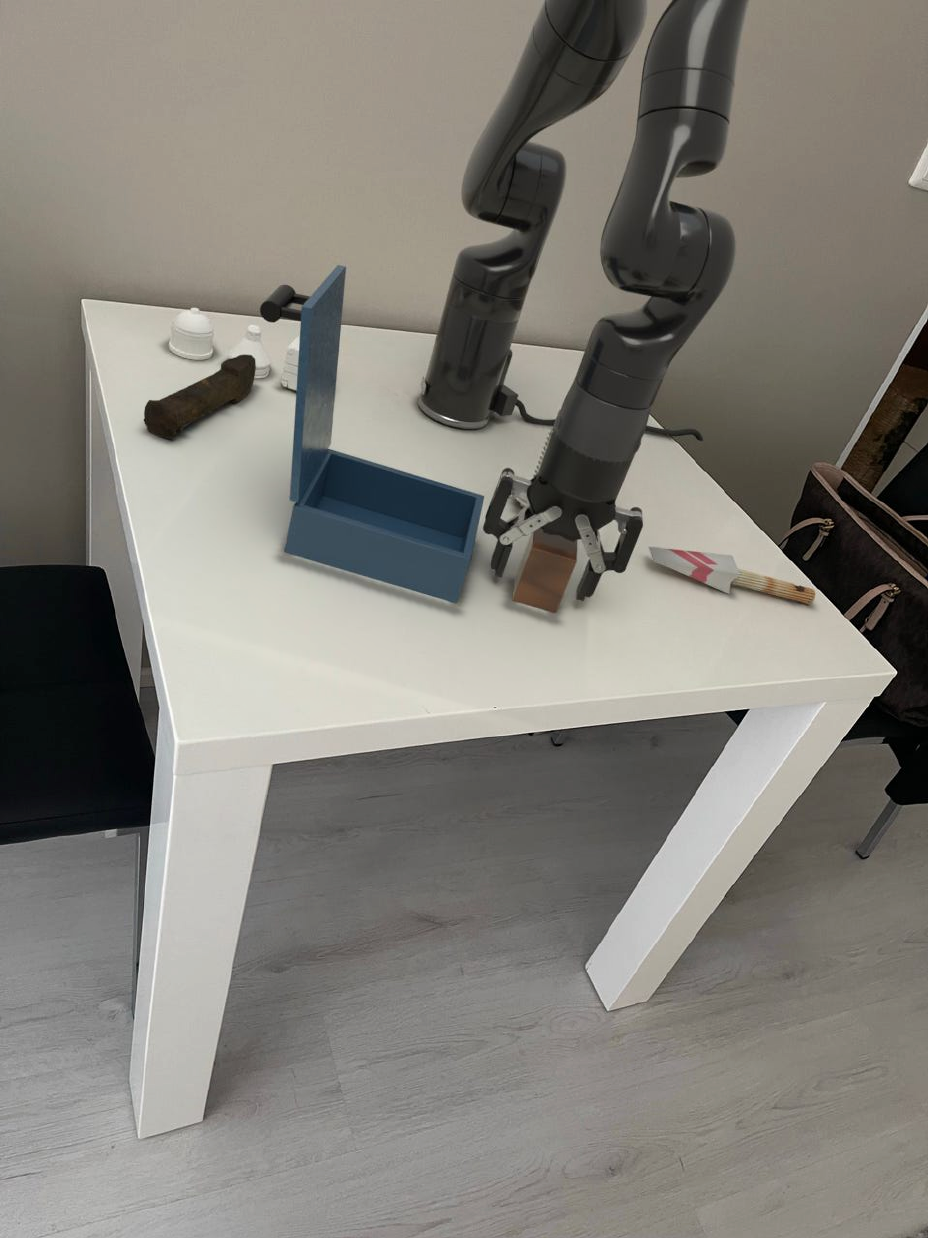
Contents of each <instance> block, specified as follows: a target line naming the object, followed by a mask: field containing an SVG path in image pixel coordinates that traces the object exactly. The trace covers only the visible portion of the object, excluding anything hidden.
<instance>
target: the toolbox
mask: <svg viewBox="0 0 928 1238" xmlns="http://www.w3.org/2000/svg"><path fill="white" fill-rule="evenodd" d="M484 501H485V495H482V494H480V493H476V492H472V491H470V490H466V489H463V488H459V487H456V486H453V485H449V484H447V483H443V482H440V481H436V480H433V479H430V478H426V477H423V476H420V475H417V474H413V473H410V472H407V471H403V470H400V469H397V468H394V467H390V466H387V465H384V464H382V463H381V464H380V463H377V462H374V461H371V460H367V459H364V458H360V457H358V456H354V455H351V454H347V453H344V452H341V451H339V450H334V449H331V448H328V450H327V452H326V453H325V455H324V457H323V459H322V461H321V462H320V464H319V466H318V468H317V470H316V471H315V473H314V475H313V477H312V479H311V480H310V482H309V484H308V486H307V487H306V489H305V491H304V493H303V495H302V496H301V498H300V500H299V502H294V504H293V506H292V510H291V515H290V521H289V525H288V531H287V535H286V540H285V547H284V553H285V554H288V555H292V556H295V557H298V558H303V559H306V560H309V561H312V562H316V563H319V564H322V565H326V566H329V567H332V568H335V569H338V570H342V571H346V572H349V573H353V574H355V575H359V576H362V577H366V578H369V579H373V580H376V581H379V582H382V583H386V584H389V585H392V586H396V587H399V588H403V589H406V590H409V591H412V592H416V593H420V594H423V595H426V596H430V597H433V598H436V599H440V600H443V601H447V602H449V603H453V604H457V602H458V600H459V597H460V594H461V590H462V588H463V585H464V582H465V578H466V576H467V572H468V570H469V566H470V563H471V561H472V556H473V551H474V548H475V547H474V546H475V542H476V539H477V534H478V529H479V524H480V519H481V516H482V515H481V514H482V511H483V505H484Z"/></svg>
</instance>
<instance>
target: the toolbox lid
mask: <svg viewBox="0 0 928 1238" xmlns="http://www.w3.org/2000/svg"><path fill="white" fill-rule="evenodd" d="M346 274H347V266H345V265H340V264H337V265H336V266H335V267H334V269H333V270H332V271H331V272H330V273H329V274H328V275H327V277H326V278H325V279H324V280H323V281H322V282H321V284H320V285H319V286H318V287H317V288H316V289H315V291H314V292H313V293H312V294H311V295H305V294H300V293H296V291H295V289H294V288H293V287H292V286H291V285H289V284H281V285H279V286H278V287H277V288H276V289H275V290H274V291H273V292H272V293H271V294H270V295H269V296H268V297H267V298H266V299H264V301H263V302H262V303H261V304H260V307H259V313H260V316H261V317H262V319H263V320H265V322H268V323H276V322H278V321H279V320H280V319H282V318H283V319H287V320H292V321H297V322H300V327H299V328H300V329H299V335H300V342H299V358H298V374H297V390H295V391H296V392H295V407H294V423H293V424H294V425H293V442H292V457H291V471H290V472H291V473H290V489H289V501H291V502H293V503H295V502H299V500H300V498H301V496H302V495H303V493H304V491H305V489H306V487H307V486H308V484H309V482H310V480H311V479H312V477H313V475H314V473H315V471H316V470H317V468H318V466H319V464H320V462H321V461H322V459H323V457H324V455H325V453H326V452H327V450H328V449H330V447H331V444H332V437H333V436H332V434H333V425H334V411H335V402H336V401H335V400H336V389H337V376H338V366H339V356H340V355H339V354H340V343H341V330H342V320H343V319H342V318H343V308H344V298H345V297H344V296H345V287H346V286H345V285H346ZM293 304H296V305H300V306H301V310H300V309H295V308H291V307H292V306H293Z"/></svg>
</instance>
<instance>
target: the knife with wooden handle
mask: <svg viewBox="0 0 928 1238" xmlns="http://www.w3.org/2000/svg"><path fill="white" fill-rule="evenodd" d="M648 550H649V553H650V556H651V559H652V561H653V562H655V563H658V564H659V565H663V566H664V567H667V568H669V569H671V570H674V571H676V572H679V573H681V574H683V575H686V576H687V577H690V578H692V579H694V580H696V581H698V582H701V583H703V584H705V585H708V586H710V587H712V588H714V589H716V590H718V591H721V592H723V593H725V594H728V595H730V593H731V592H730V591H731V584H732V585H735V586H739V587H743V588H747V589H750V590H754V591H757V592H762V593H764V594H768V595H773V596H777V597H780V598H784V599H787V600H794V601H796V602H799V603H803V604H807V605H810V604H812V603H813V602H814V600H815V597H816V591H815V589H814V588H810V587H807V586H803V585H796V584H795V583H792V582H790V581H786V580H781V579H777V578H774V577H771V576H767V575H763V574H759V573H755V572H752V571H748V570H745V569H741V568H739V567H738V566H737V564H736V561H735V559H734V557H733V555H732V554H731V555H730V554H724V553H723V554H722V553H712V552H703V551H693V550H686V549H685V550H683V549H676V548H675V549H674V548H666V547H658V546H657V547H656V546H648Z"/></svg>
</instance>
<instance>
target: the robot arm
mask: <svg viewBox="0 0 928 1238" xmlns="http://www.w3.org/2000/svg"><path fill="white" fill-rule="evenodd" d="M749 3H750V0H671V1H670V2H669V4H668V5H667V6H666V8H665V10H664V11H663V13H662V14H661V16H660V18H659V20H658V21H657V24H656V25H655V28H654V30H653V32H652V34H651V36H650V39H649V42H648V45H647V47H646V51H645V55H644V60H643V65H642V71H641V81H640V88H639V89H640V90H639V99H638V107H637V115H636V116H637V117H636V125H635V126H636V127H635V136H634V141H633V144H632V148H631V151H630V154H629V157H628V160H627V162H626V166H625V169H624V172H623V175H622V179H621V182H620V183H619V187H618V190H617V192H616V195H615V197H614V200H613V203H612V206H611V208H610V210H609V213H608V215H607V217H606V221H605V223H604V227H603V230H602V233H601V237H600V244H599V245H600V246H599V255H600V263H601V267H602V270H603V273H604V275H605V277H606V279H607V281H608V282H609V284H611V286H613V288H615V289H616V290H619V291H622V292H625V293H630V294H634V295H635V294H636V295H640V296H647V297H649V298H648V299H647V301H646V302H644V304H643V305H642V306H640V307H639V308H636V309H634V310H631V311H626V312H617V313H612V314H611V313H610V314H607V315H605V316H602V317H600V318H599V319H598V320H597V322H596V323H595V324H594V327H593V329H592V331H591V333H590V336H589V338H588V340H587V344H586V348H585V350H584V352H583V355H582V358H581V361H580V364H579V366H578V369H577V372H576V374H575V376H574V378H573V382H572V384H571V386H570V388H569V389H568V391H567V393H566V395H565V397H564V400H563V402H562V404H561V407H560V409H561V410H560V409H559V410H560V413H559V416H558V418H557V420H556V418H555V419H540V418H536V417H534V416H532V415H530V413H529V414H528V412H527V409H526V406H525V404H524V403H523V401H521V400H520V399H519V394H518V393H517V392H515V391H514V390H513V389H511V388H510V387H508V386H506V385H505V381H506V377H507V374H508V371H509V367H510V364H511V361H512V358H513V350H512V349H511V347H512V343H513V340H514V336H515V334H516V330H517V326H518V323H519V321H520V317H521V314H522V311H523V308H524V304H525V301H526V298H527V294H528V291H529V288H530V285H531V283H532V280H533V278H534V276H535V273H536V271H537V268H538V264H539V261H540V259H541V256H542V252H543V250H544V246H545V244H546V242H547V239H548V236H549V234H550V231H551V228H552V225H553V223H554V220H555V217H556V215H557V212H558V209H559V206H560V203H561V200H562V198H563V193H564V189H565V186H566V179H567V160H566V157H565V155H564V154H563V153H562V152H561V151H560V150H559V149H557V148H554V147H551V146H548V145H544V144H541V143H537V142H533V141H530V140H531V139H532V138H534V137H535V136H536V135H538V134H539V133H540V132H543V131H544V130H546V129H547V128H550V127H551V126H553V125H555V124H557V123H559V122H562V121H563V120H565V119H567V118H568V117H570V116H572V115H574V114H576V113H578V112H579V111H581V110H583V109H585V108H587V107H588V106H590V105H592V104H593V103H594V102H595V101H597V100H598V99H599V98H600V97H602V96H603V95H604V94H605V93H606V92H607V91H608V90H609V89H610V88H611V87H612V85H613V84H614V82H615V81H616V79H618V76H619V74H620V73H621V71H622V69H623V68H624V66H625V64H626V62H627V61H628V59H629V57H630V56H631V53H632V52H633V50H634V49H635V47H636V45H637V43H638V41H639V39H640V37H641V35H642V34H643V31H644V28H645V24H646V21H647V15H648V0H543V2H542V5H541V7H540V9H539V11H538V14H537V16H536V18H535V20H534V23H533V26H532V28H531V29H530V33H529V35H528V38H527V40H526V43H525V45H524V47H523V50H522V53H521V55H520V57H519V60H518V61H517V64H516V67H515V68H514V72H513V74H512V76H511V79H510V80H509V82H508V84H507V87H506V89H505V91H504V93H503V95H502V96H501V98H500V100H499V102H498V103H497V105H496V107H495V109H494V111H493V113H492V114H491V116H490V118H489V119H488V121H487V123H486V125H485V127H484V129H483V130H482V132H481V134H480V135H479V137H478V139H477V141H476V143H475V145H474V146H473V149H472V152H471V153H470V156H469V159H468V160H467V164H466V167H465V170H464V173H463V177H462V181H461V187H460V188H461V190H460V198H461V203H462V207H463V209H464V211H465V212H466V213H467V214H468V215H469V216H471V217H472V218H474V219H476V220H478V221H481V222H485V223H488V224H493V225H497V226H500V227H504V228H508V229H512V230H511V232H510V233H509V234H507V235H506V236H504V237H502V238H500V239H497V240H494V241H491V242H487V243H481V244H474V245H473V244H472V245H469V246H466V247H464V248H462V249H461V250H460V251H459V252H458V255H457V257H456V260H455V263H454V267H453V271H452V275H451V279H450V283H449V286H448V291H447V295H446V298H445V302H444V306H443V310H442V314H441V318H440V321H439V325H438V328H437V333H436V336H435V341H434V344H433V348H432V352H431V355H430V359H429V362H428V367H427V371H426V373H425V377H424V376H422V379H421V382H420V388H421V392H420V394H419V398H418V402H417V404H418V407H419V408H420V410H421V411H422V412H423V414H425V415H426V416H427V417H430V418H431V419H433V420H435V421H436V422H439V423H442V424H444V425H446V426H448V427H449V426H450V427H453V428H457V429H465V430H476V429H481V428H483V427H485V426H487V424H488V422H489V421H490V420H493V418H494V415H495V413H496V414H497V415H498V416H500V417H502V418H503V417H508V416H512V415H513V413H514V410H515V407H517V408H518V411H519V415H520V417H521V418H522V419H523V420H525V421H527V422H528V423H530V424H534V425H540V426H549V427H550V426H551V427H553V426H554V423H555V420H556V424H555V427H554V430H553V432H552V435H551V438H550V441H549V444H548V446H547V449H546V452H545V455H544V457H543V460H542V463H541V466H540V469H539V471H538V473H537V475H536V476H535V477H532V478H531V479H527V478H524V477H522V476H519V475H517V474H516V473H515V471H514V470H513V469H512V468H510V467H506V468H504V469H502V471H501V473H500V476H499V479H498V481H497V484H496V486H495V489H494V492H493V495H492V497H491V499H490V501H489V502H490V503H489V505H488V507H487V510H486V513H485V517H484V523H483V527H482V530H483V532H484V533H485V534H487V535H492V536H494V537H495V538H496V540H497V541H496V543H495V547H494V549H493V553H492V555H491V561H490V569H491V570H493V571H494V576H495V577H498V578H503V575H504V572H505V569H506V567H507V564H508V561H509V558H510V555H511V552H512V550H513V544H514V542H516V541H517V540H519V539H521V538H523V537H527V536H529V535H531V533H532V532H534V531H536V530H537V529H539V528H541V529H542V530H543V533H547V534H550V535H560V536H562V537H563V538H565V539H567V540H570V541H573V542H575V540H577V541H579V540H581V541H582V544H583V547H584V549H585V550H584V551H585V553H586V555H587V557H588V561H587V563H586V565H585V567H584V570H583V572H582V575H581V577H580V579H579V582H578V584H577V587H576V591H575V600H576V601H579V602H584V601H585V599H586V598H589V599H590V598H591V597H592V596H594V594H595V591H596V589H597V587H598V584H599V582H600V580H601V578H602V575H603V574H604V573H605V572H608V571H609V572H610V571H614V572H615V573H617V574H622V573H624V572H625V571H626V570H627V568H628V565H629V563H630V560H631V557H632V555H633V552H634V549H635V547H636V545H637V542H638V540H639V537H640V535H641V533H642V529H643V527H644V519H643V518H644V517H643V510H642V509H641V508H640V507H639V506H634V507H632V508H630V509H627V508H622V507H619V506H617V505H616V502H617V499H618V496H619V494H620V492H621V489H622V486H623V484H624V482H625V480H626V477H627V475H628V472H629V470H630V467H631V465H632V463H633V461H634V458H635V456H636V454H637V452H638V451H639V449H640V447H641V444H642V440H643V437H644V434H645V432H647V433H652V434H656V435H662V436H666V437H682V436H690V435H692V436H694V437H695V438H696V440H697V441H699V442H703V441H704V437H703V436H702V434H701V433H700V431H699V430H697V429H694V428H684V429H677V430H676V429H674V430H672V429H666V428H661V427H660V428H659V427H656V426H652V425H651V426H650V425H648V421H649V419H650V414H651V411H652V407H653V405H654V403H655V400H656V399H657V395H658V393H659V391H660V389H661V387H662V384H663V381H664V379H665V376H666V374H667V371H668V369H669V366H670V364H671V362H672V361H673V359H674V358H675V356H676V355H677V354H678V352H679V351H680V350H681V349H682V348H683V346H684V344H686V342H687V341H688V340H689V338H690V337H691V336H692V334H693V333H694V331H695V330H696V329H697V328H698V326H699V325H700V323H701V322H702V321H703V319H704V318H705V317H706V316H707V314H708V313H709V312H710V310H712V308H713V306H714V305H715V303H716V302H717V301H718V300H719V298H720V296H721V295H722V293H723V292H724V290H725V289H726V286H727V284H728V283H729V281H730V278H731V276H732V273H733V270H734V267H735V262H736V257H737V237H736V232H735V229H734V227H733V224H732V223H731V221H730V220H729V219H728V218H727V217H726V216H725V215H723V214H721V213H719V212H717V211H714V210H711V209H708V208H703V207H698V206H693V205H690V204H689V205H688V204H685V203H680V202H677V201H672V200H670V191H671V188H672V186H673V184H674V181H675V179H678V178H679V179H680V178H681V179H682V178H694V177H700V176H704V175H706V174H710V173H711V172H713V171H714V170H716V169H717V168H718V167H719V166H721V164H722V162H723V159H724V157H725V155H726V151H727V146H728V142H729V141H728V140H729V133H730V125H731V117H732V109H733V101H734V93H735V92H734V91H735V87H736V86H735V85H736V76H737V67H738V60H739V52H740V47H741V41H742V37H743V31H744V25H745V22H746V21H745V20H746V16H747V13H748V8H749ZM520 493H526V494H527V498H528V501H529V505H528V506H526V507H524V508H523V507H522V508H521V509H520V510H519V512H518V513H517V514H516V515H514V516H512V517H510V518H509V519H507V520H504V519H502V515H503V513H504V510H505V507H506V505H507V503H508V500H510V501H511V500H512V501H513V500H515V499H516V497H517V496H518V495H519V494H520ZM613 521H615V522H616V523H617V531H618V533H620V534H619V537H618V540H617V542H616V545H615V547H614V550H613V551H605V549H604V545H603V541H602V539H601V534H600V529H602V528H604V527H605V526H607V525H609V524H611V522H613Z"/></svg>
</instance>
